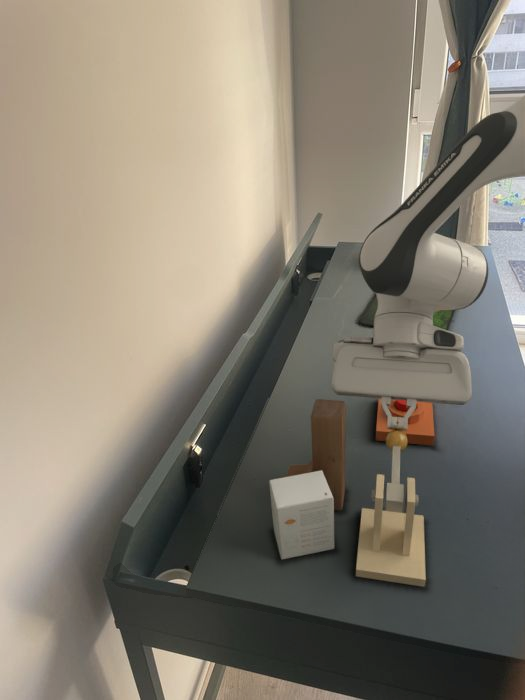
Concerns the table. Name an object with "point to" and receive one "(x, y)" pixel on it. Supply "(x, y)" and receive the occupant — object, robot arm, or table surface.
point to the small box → (302, 514)
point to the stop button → (401, 405)
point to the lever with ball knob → (395, 471)
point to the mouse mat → (439, 317)
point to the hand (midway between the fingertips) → (396, 429)
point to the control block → (409, 423)
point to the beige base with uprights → (392, 540)
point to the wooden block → (327, 447)
